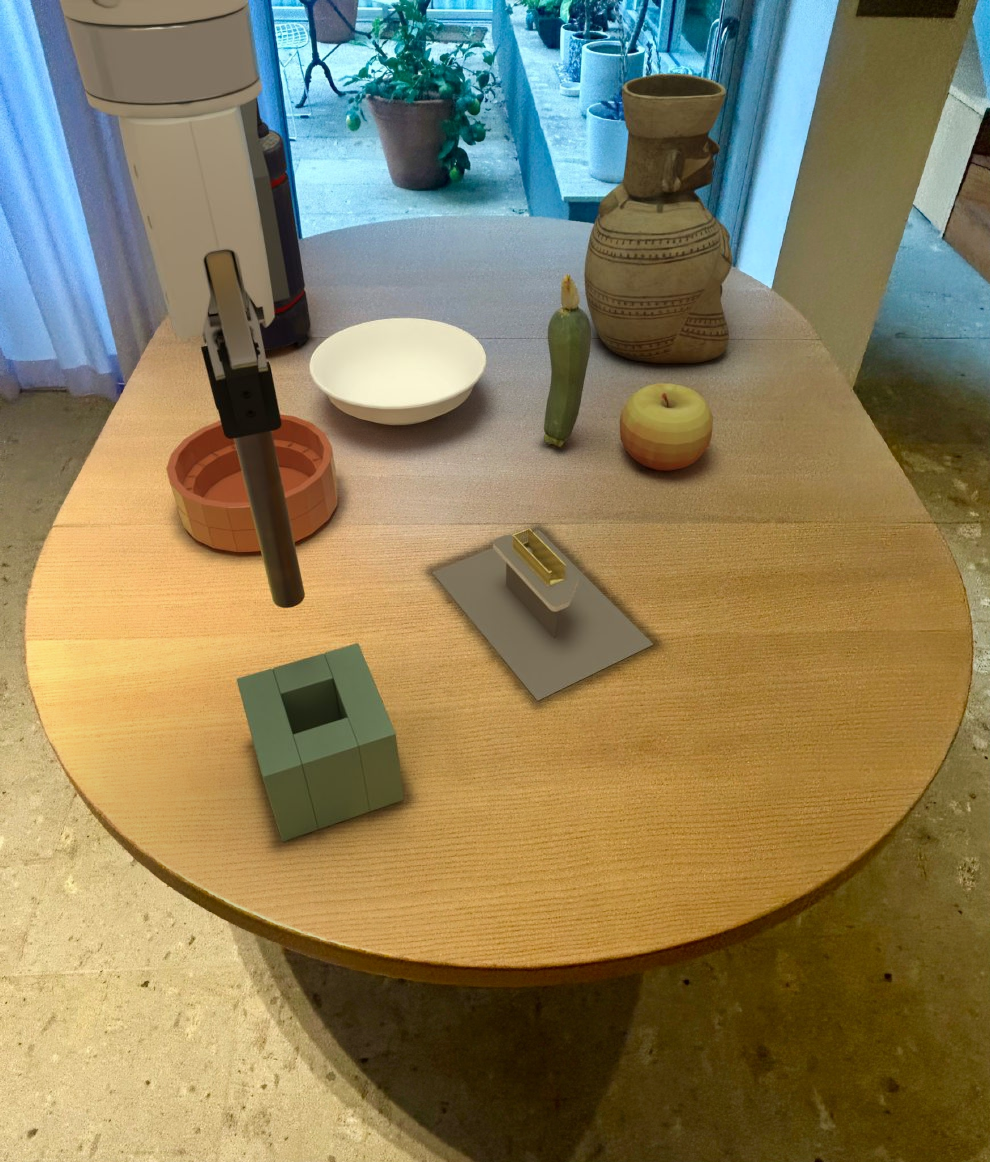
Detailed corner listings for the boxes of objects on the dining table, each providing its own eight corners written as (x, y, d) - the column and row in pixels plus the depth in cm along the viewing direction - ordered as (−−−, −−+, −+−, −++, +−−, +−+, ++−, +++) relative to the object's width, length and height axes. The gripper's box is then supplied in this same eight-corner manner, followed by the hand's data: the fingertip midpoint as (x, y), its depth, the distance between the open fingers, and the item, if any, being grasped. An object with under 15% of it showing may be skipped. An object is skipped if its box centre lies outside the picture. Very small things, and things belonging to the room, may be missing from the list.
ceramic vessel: (747, 318, 120) (799, 69, 99) (703, 393, 106) (754, 121, 85) (614, 291, 126) (638, 51, 105) (556, 358, 112) (570, 97, 91)
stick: (276, 611, 60) (211, 342, 46) (269, 590, 61) (205, 323, 48) (308, 603, 61) (254, 335, 47) (301, 582, 62) (246, 316, 48)
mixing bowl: (195, 573, 83) (179, 524, 79) (172, 480, 93) (157, 432, 89) (357, 532, 87) (350, 483, 83) (317, 448, 98) (309, 401, 93)
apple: (599, 463, 96) (605, 398, 90) (641, 421, 102) (649, 358, 96) (682, 494, 92) (694, 429, 86) (721, 449, 98) (734, 385, 92)
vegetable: (561, 429, 100) (572, 256, 87) (590, 445, 98) (606, 270, 84) (534, 445, 98) (541, 270, 84) (563, 461, 96) (575, 284, 82)
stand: (282, 842, 62) (262, 777, 57) (256, 745, 69) (236, 678, 63) (404, 800, 65) (395, 733, 60) (368, 710, 71) (358, 642, 66)
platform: (538, 529, 87) (540, 475, 83) (653, 644, 76) (663, 589, 72) (431, 572, 83) (428, 517, 78) (537, 700, 72) (540, 646, 67)
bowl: (518, 426, 101) (519, 376, 96) (356, 477, 94) (349, 426, 89) (440, 350, 113) (438, 303, 109) (292, 390, 106) (283, 341, 102)
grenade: (208, 329, 117) (148, 76, 97) (293, 308, 122) (253, 62, 101) (240, 376, 109) (182, 108, 88) (331, 352, 113) (296, 92, 92)
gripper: (69, 25, 43) (166, 365, 56) (87, 119, 32) (202, 514, 45) (226, 13, 45) (285, 343, 58) (293, 97, 34) (347, 482, 47)
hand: (248, 416), depth 51 cm, fingers closed on stick, 2 cm apart
